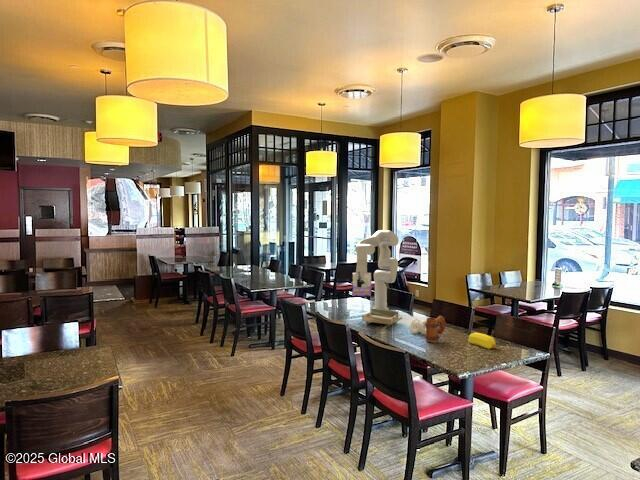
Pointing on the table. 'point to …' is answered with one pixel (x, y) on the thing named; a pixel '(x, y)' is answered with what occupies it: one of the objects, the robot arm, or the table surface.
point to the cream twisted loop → (418, 326)
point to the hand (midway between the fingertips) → (361, 286)
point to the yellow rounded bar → (482, 340)
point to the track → (386, 325)
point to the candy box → (365, 286)
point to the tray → (380, 316)
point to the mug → (434, 328)
